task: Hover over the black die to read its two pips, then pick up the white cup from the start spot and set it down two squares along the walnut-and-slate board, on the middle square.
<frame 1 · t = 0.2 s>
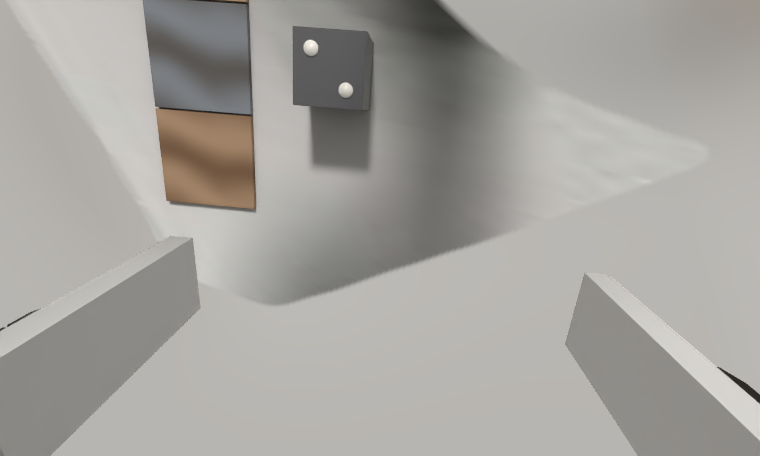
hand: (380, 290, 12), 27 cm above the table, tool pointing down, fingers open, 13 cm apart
die: (341, 74, 36), on the table
board: (201, 58, 36), on the table
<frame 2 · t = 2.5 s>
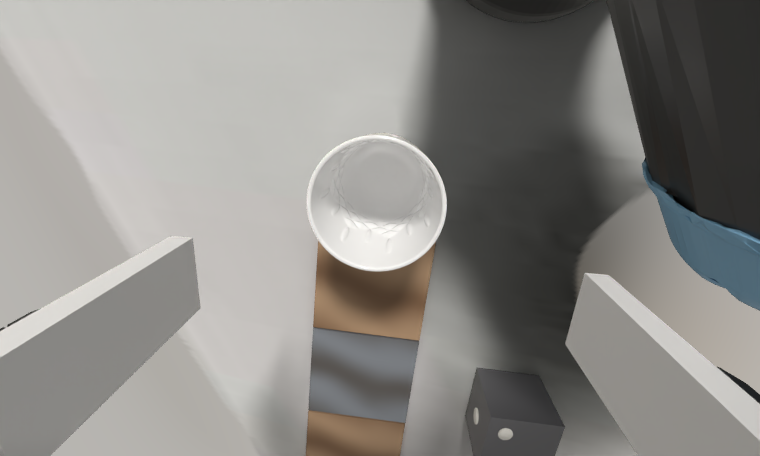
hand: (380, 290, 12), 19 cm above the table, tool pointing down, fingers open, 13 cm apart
die: (500, 395, 36), on the table
white cup: (384, 175, 30), on the table
board: (361, 374, 36), on the table
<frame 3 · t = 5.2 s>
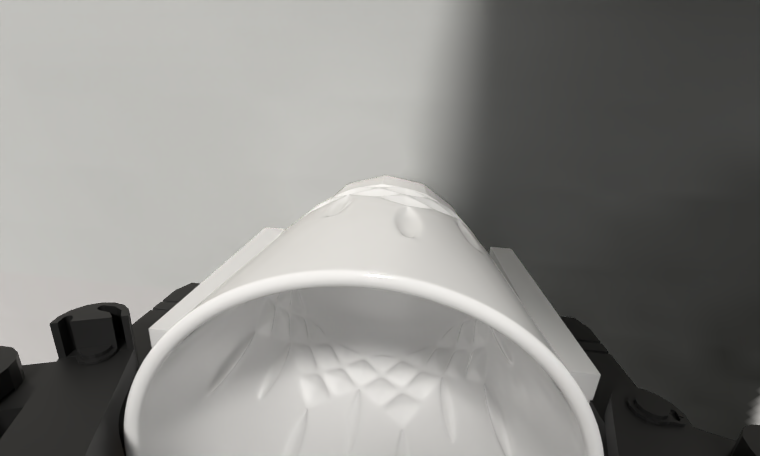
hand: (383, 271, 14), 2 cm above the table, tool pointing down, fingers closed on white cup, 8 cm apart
white cup: (386, 251, 16), on the table, touching gripper
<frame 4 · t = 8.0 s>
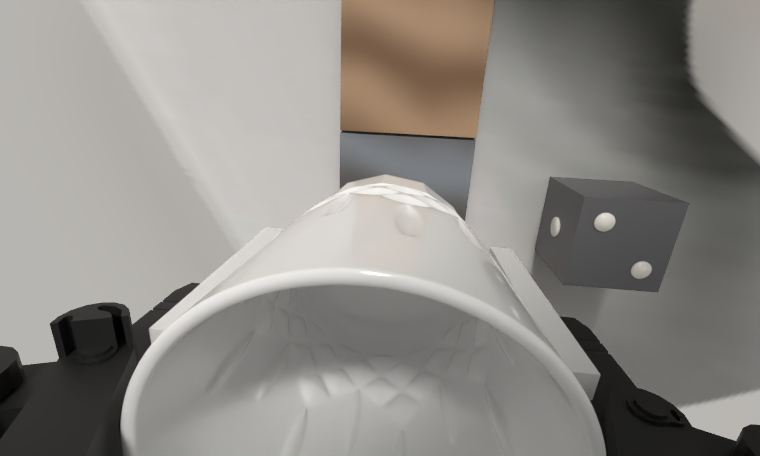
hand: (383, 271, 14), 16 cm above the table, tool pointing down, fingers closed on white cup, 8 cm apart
die: (581, 216, 28), on the table
white cup: (386, 251, 16), point 14 cm above the table, touching gripper
board: (402, 198, 29), on the table
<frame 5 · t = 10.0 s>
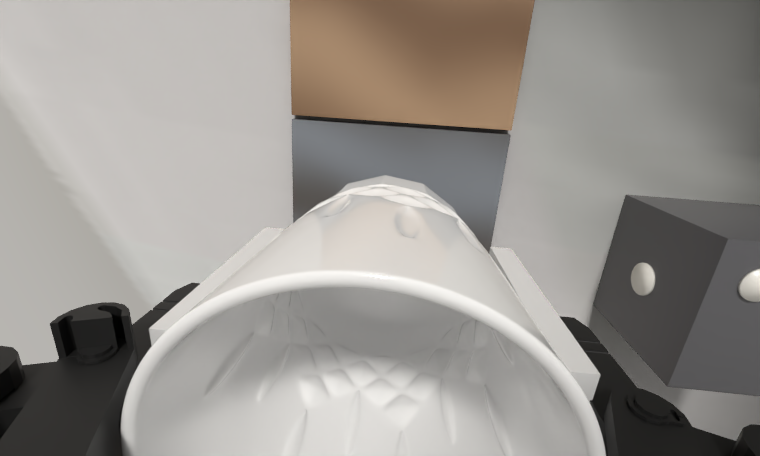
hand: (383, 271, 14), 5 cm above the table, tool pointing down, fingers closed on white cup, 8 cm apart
die: (669, 257, 18), on the table
white cup: (386, 251, 16), point 3 cm above the table, touching gripper
board: (391, 224, 19), on the table
when the fingers open (3 cm above the table, at t = 11.3 s): white cup stays where it is, resting on board.
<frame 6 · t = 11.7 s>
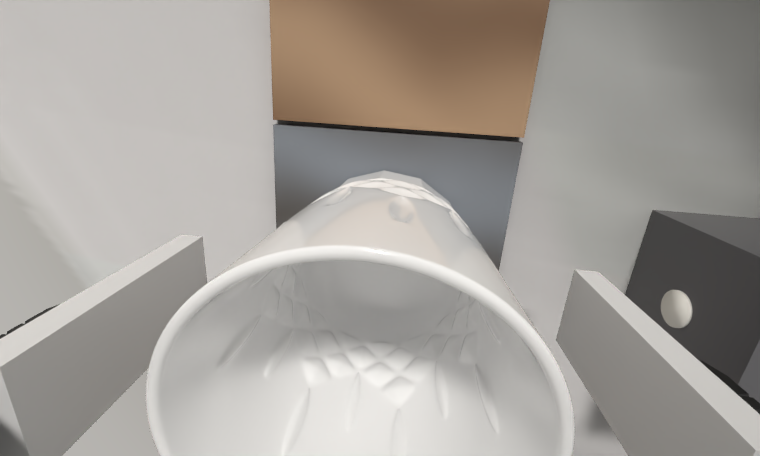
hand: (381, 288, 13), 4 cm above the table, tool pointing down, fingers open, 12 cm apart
die: (699, 279, 16), on the table
white cup: (385, 243, 16), resting on board
board: (387, 242, 17), on the table
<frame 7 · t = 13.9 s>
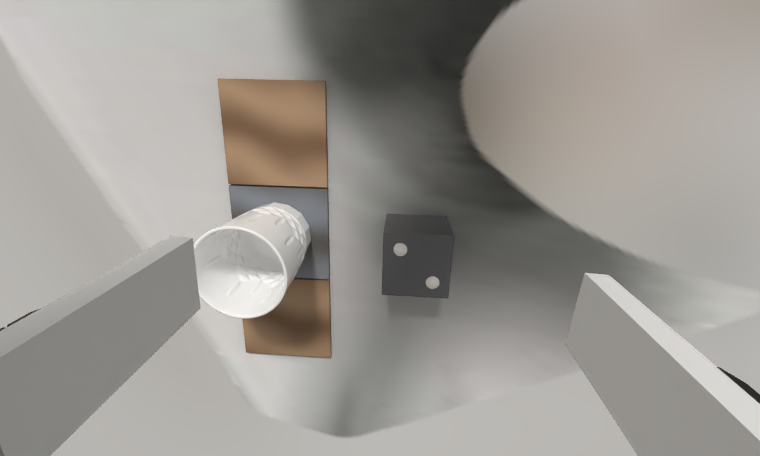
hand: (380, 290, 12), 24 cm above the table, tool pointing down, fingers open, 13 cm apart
die: (414, 242, 38), on the table
white cup: (280, 232, 38), resting on board
board: (281, 232, 38), on the table
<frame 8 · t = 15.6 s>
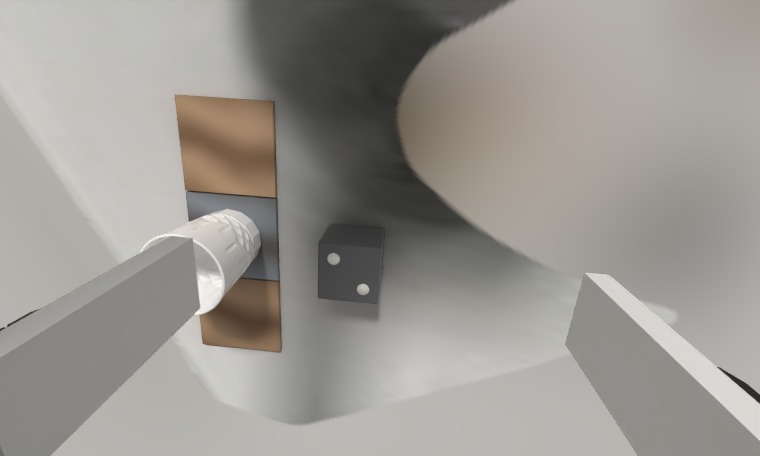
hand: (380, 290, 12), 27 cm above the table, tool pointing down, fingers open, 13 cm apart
die: (356, 250, 41), on the table
white cup: (233, 236, 41), resting on board
board: (235, 236, 42), on the table
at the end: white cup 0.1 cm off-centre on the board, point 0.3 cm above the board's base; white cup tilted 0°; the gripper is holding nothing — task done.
